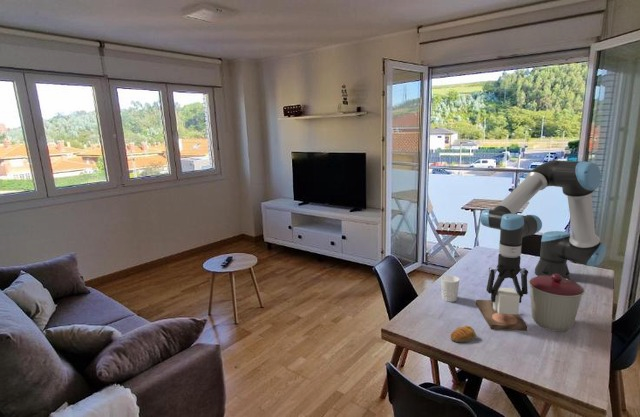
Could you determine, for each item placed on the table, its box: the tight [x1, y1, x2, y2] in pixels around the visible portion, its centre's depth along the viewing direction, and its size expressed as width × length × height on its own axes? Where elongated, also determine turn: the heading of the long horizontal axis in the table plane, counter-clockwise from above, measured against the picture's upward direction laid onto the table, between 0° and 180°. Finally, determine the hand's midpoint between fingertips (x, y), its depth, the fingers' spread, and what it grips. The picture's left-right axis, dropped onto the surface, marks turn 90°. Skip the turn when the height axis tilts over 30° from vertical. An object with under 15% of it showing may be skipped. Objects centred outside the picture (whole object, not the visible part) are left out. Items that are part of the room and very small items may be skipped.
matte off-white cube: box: [497, 287, 520, 315], centre depth 141 cm, size 7×7×8 cm
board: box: [475, 287, 528, 332], centre depth 147 cm, size 13×21×10 cm, turn 172°
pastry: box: [450, 325, 477, 343], centre depth 134 cm, size 9×7×4 cm
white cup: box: [440, 274, 460, 303], centre depth 164 cm, size 8×8×10 cm
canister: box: [528, 274, 586, 332], centre depth 139 cm, size 18×18×21 cm
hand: (505, 309), depth 142 cm, fingers closed on matte off-white cube, 7 cm apart
